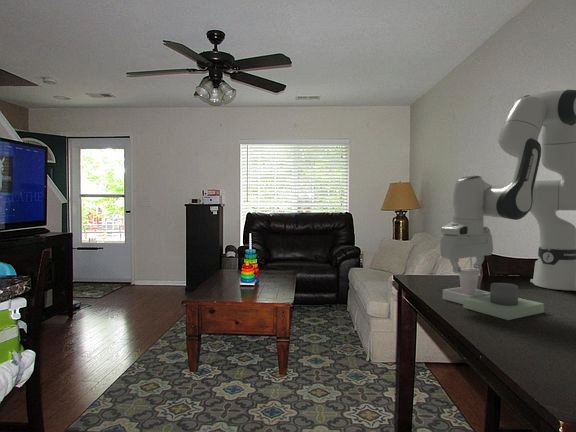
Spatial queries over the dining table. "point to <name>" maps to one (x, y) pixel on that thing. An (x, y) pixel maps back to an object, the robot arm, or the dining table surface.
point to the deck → (502, 309)
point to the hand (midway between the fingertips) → (467, 271)
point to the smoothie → (469, 279)
